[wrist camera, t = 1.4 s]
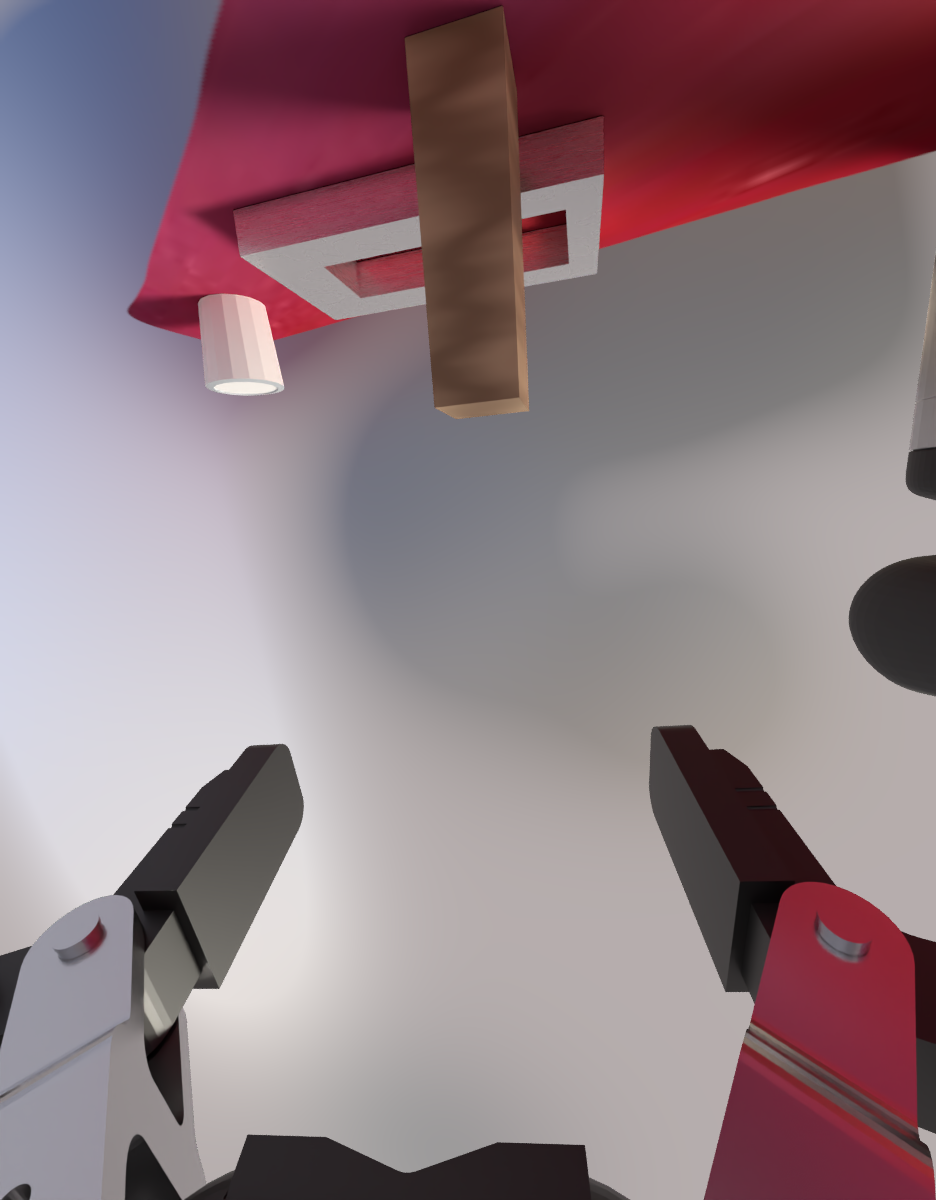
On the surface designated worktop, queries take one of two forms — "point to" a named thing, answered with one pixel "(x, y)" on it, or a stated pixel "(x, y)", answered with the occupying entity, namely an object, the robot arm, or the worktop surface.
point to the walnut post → (470, 213)
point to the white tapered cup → (238, 346)
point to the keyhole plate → (391, 223)
